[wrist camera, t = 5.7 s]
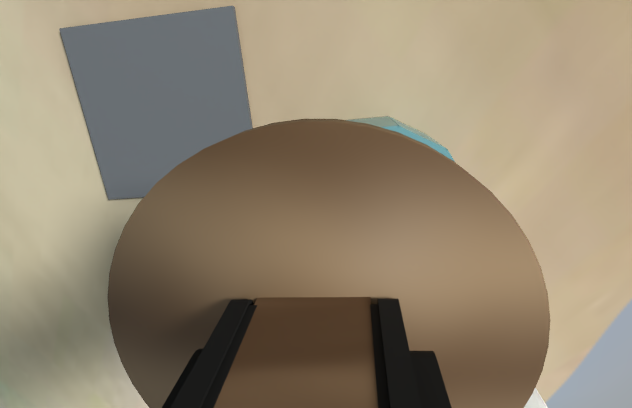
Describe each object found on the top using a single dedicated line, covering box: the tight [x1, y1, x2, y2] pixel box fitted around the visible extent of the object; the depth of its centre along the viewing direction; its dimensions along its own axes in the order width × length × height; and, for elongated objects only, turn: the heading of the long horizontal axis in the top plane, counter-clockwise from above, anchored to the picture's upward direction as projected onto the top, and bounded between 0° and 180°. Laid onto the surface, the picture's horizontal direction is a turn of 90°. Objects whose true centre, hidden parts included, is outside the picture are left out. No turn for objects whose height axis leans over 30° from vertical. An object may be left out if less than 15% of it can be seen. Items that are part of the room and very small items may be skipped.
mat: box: [60, 6, 253, 199], centre depth 25 cm, size 12×12×1 cm
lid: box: [108, 119, 550, 408], centre depth 8 cm, size 12×12×6 cm
